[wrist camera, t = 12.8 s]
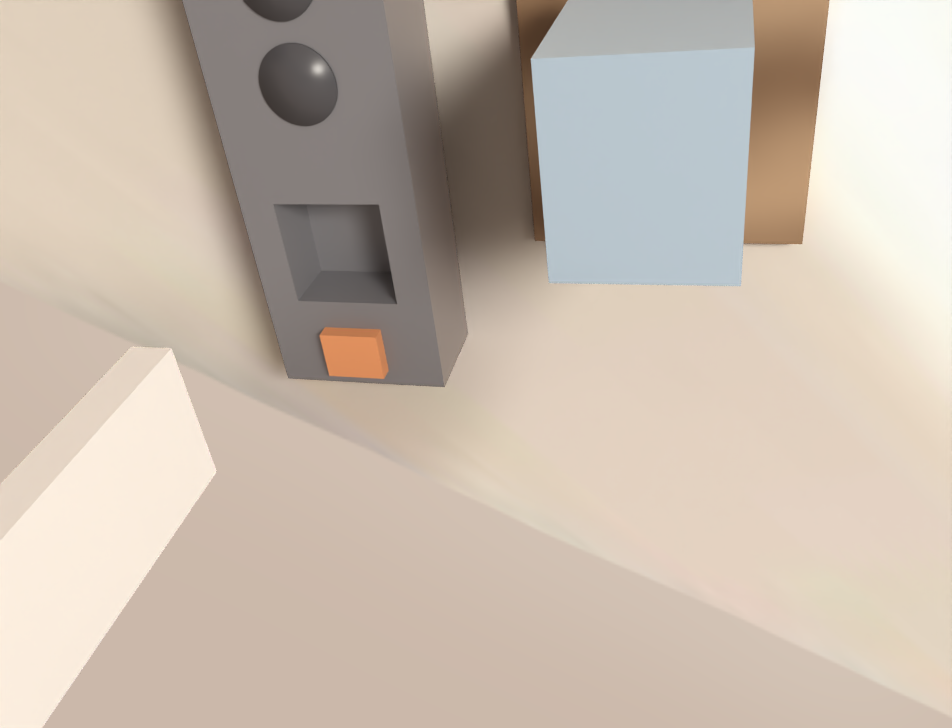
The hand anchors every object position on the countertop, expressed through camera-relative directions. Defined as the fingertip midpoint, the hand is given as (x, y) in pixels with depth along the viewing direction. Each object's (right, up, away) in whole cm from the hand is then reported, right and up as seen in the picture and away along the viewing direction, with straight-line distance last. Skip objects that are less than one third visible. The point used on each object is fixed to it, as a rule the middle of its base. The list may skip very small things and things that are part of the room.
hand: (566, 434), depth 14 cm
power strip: (-7, +14, +18) cm, 24 cm away
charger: (+5, +12, +16) cm, 20 cm away
